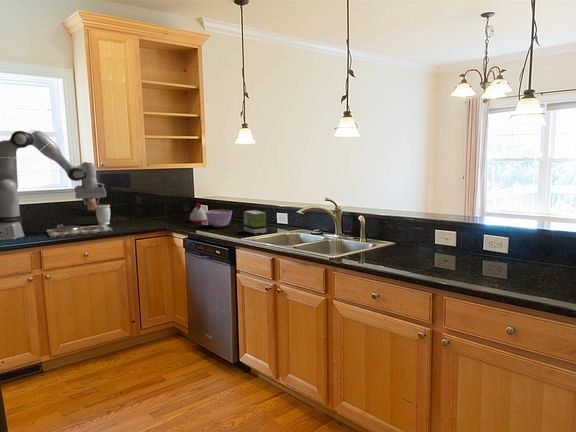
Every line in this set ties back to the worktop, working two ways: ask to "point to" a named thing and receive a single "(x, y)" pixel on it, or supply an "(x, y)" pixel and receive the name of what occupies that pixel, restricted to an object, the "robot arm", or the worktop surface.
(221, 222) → the purple rounded bowl
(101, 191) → the robot arm
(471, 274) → the worktop surface
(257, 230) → the tea box
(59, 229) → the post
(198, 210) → the kitchen timer
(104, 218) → the jar
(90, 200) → the pinkish brown cylinder
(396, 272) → the worktop surface
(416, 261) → the worktop surface
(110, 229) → the board
